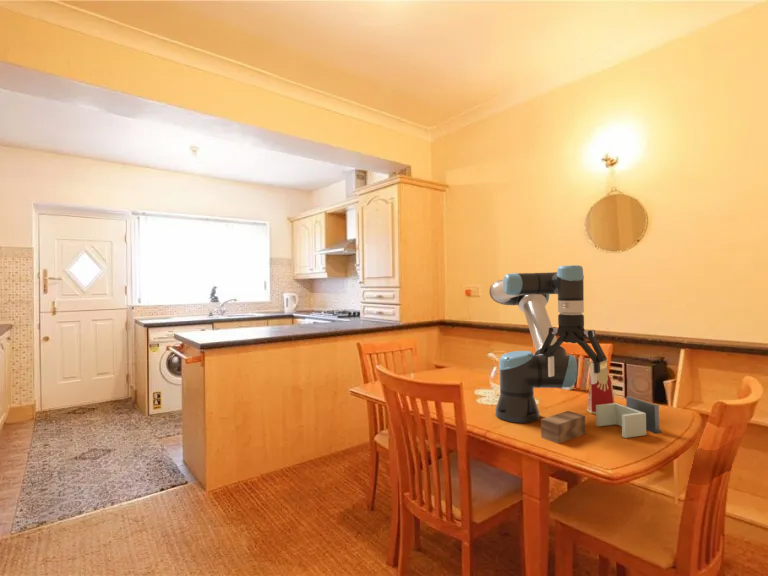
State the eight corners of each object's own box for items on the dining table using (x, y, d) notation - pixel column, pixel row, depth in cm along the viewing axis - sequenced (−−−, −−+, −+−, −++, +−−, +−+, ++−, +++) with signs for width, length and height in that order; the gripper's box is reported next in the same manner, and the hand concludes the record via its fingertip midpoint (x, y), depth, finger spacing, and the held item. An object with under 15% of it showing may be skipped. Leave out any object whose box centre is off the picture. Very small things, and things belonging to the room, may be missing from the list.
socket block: (625, 437, 125) (624, 415, 125) (596, 425, 137) (595, 405, 137) (646, 434, 127) (645, 413, 127) (615, 422, 139) (615, 402, 138)
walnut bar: (558, 444, 122) (558, 424, 122) (541, 438, 128) (541, 419, 127) (585, 434, 130) (585, 415, 130) (568, 428, 135) (567, 410, 135)
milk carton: (613, 408, 154) (612, 356, 154) (615, 416, 146) (614, 360, 146) (586, 406, 158) (585, 355, 158) (587, 413, 150) (586, 359, 149)
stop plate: (655, 433, 128) (654, 405, 128) (626, 422, 139) (626, 396, 139) (661, 432, 129) (661, 404, 129) (632, 421, 140) (632, 395, 140)
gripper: (528, 312, 137) (529, 375, 137) (608, 316, 118) (609, 389, 118) (539, 311, 142) (540, 371, 142) (617, 314, 123) (618, 384, 123)
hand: (571, 379), depth 130 cm, fingers open, 13 cm apart
